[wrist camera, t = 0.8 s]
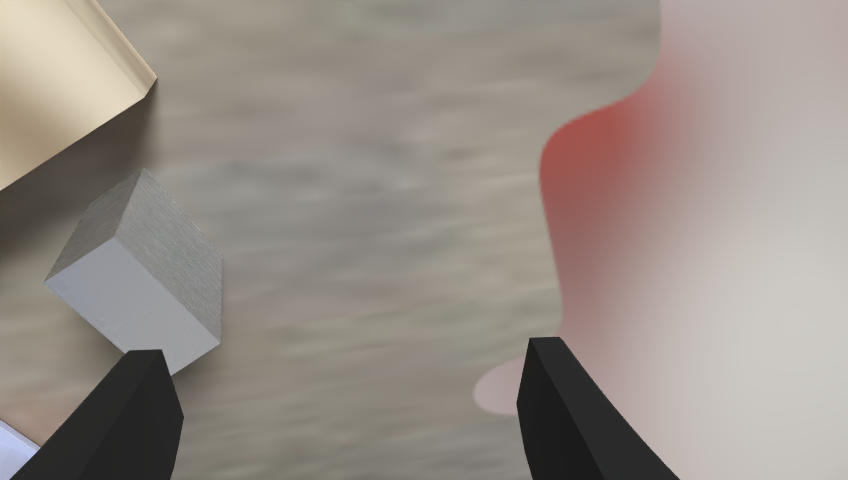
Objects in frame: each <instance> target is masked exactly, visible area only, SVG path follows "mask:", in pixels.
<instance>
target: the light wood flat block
mask: <svg viewBox="0 0 848 480" xmlns="http://www.w3.org/2000/svg"><path fill="white" fill-rule="evenodd" d="M156 79H157V76H156V75H155V73H154V72H153V71H152V70H151V68H150V67H149V66H148V65H147V63H146V62H145V61H144V60H143V58H142V57H141V56H140V55H139V54H138V52H137V51H136V50H135V49H134V47H133V46H132V45H131V44H130V42H129V41H128V40H127V39H126V37H125V36H124V35H123V34H122V32H121V31H120V30H119V29H118V27H117V26H116V25H115V24H114V22H113V21H112V20H111V19H110V17H109V16H108V15H107V14H106V13H105V11H104V10H103V9H102V8H101V6H100V5H99V4H98V3H97V1H96V0H0V190H2V189H4V188H5V187H7V186H8V185H10V184H11V183H13V182H14V181H16V180H17V179H19V178H21V177H22V176H24V175H25V174H27V173H28V172H30V171H31V170H33V169H34V168H36V167H38V166H39V165H41V164H42V163H44V162H45V161H47V160H48V159H50V158H51V157H53V156H54V155H56V154H58V153H59V152H61V151H62V150H64V149H65V148H67V147H68V146H70V145H71V144H73V143H75V142H76V141H78V140H79V139H81V138H82V137H84V136H85V135H87V134H88V133H90V132H92V131H93V130H95V129H96V128H98V127H99V126H101V125H102V124H104V123H105V122H107V121H109V120H110V119H112V118H113V117H115V116H116V115H118V114H119V113H121V112H122V111H124V110H126V109H127V108H129V107H130V106H132V105H133V104H135V103H136V102H138V101H139V100H141V99H142V98H144V97H145V95H146V94H147V92H148V91H149V89H150V88H151V86H152V85H153V83H154V82H155V80H156Z"/></svg>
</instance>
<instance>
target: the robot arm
mask: <svg viewBox="0 0 848 480" xmlns="http://www.w3.org/2000/svg"><path fill="white" fill-rule="evenodd" d="M517 410H518V416H519V422H520V428H521V433H522V439H523V444H524V450H525V454H526V457H527V461H528V464H529V468H530V471H531V475H532V478H533V480H680V479H679V478H678V477H677V476H676V475H675V474H674V473H673V472H672V471H671V470H670V469H669V468H668V467H667V466H666V465H665V464H664V462H662V460H661V459H660V458H659V457H658V456H657V455H656V454H655V453H654V452H653V451H652V450H651V449H650V447H649V446H648V445H647V444H646V443H645V442H644V441H643V440H642V439H641V438H640V436H639V435H638V434H637V433H636V432H635V431H634V430H633V428H632V427H631V426H630V425H629V424H628V422H627V421H626V420H625V419H624V418H623V416H622V415H621V414H620V413H619V412H618V411H617V409H615V407H614V406H613V405H612V403H611V402H610V401H609V400H608V399H607V397H606V396H605V395H604V394H603V392H602V391H601V390H600V389H599V387H598V386H597V385H596V383H595V382H594V381H593V380H592V378H591V377H590V376H589V375H588V373H587V372H586V371H585V370H584V368H583V367H582V366H581V364H580V363H579V361H578V360H577V359H576V358H575V356H574V355H573V354H572V352H571V351H570V349H569V348H568V347H567V345H566V344H565V343H564V341H563V340H562V339H561V338H560V337H538V338H530V339H529V344H528V349H527V354H526V359H525V364H524V368H523V373H522V378H521V383H520V388H519V393H518V398H517ZM183 419H184V416H183V413H182V409H181V406H180V403H179V400H178V397H177V394H176V391H175V388H174V385H173V382H172V379H171V376H170V373H169V369H168V366H167V363H166V360H165V357H164V354H163V351H162V349H151V350H129V351H128V352H127V353H126V354H125V355H124V356H123V357H122V358H121V359H120V360H119V361H118V362H117V364H116V365H115V366H114V367H113V368H112V369H111V370H110V371H109V373H108V374H107V375H106V376H105V377H104V378H103V379H102V381H101V382H100V383H99V384H98V385H97V386H96V387H95V389H94V390H93V391H92V392H91V393H90V394H89V395H88V397H87V398H86V399H85V400H84V401H83V402H82V403H81V404H80V405H79V407H78V408H77V409H76V410H75V411H74V412H73V413H72V414H71V415H70V417H69V418H68V419H67V420H66V421H65V422H64V423H63V424H62V425H61V426H60V427H59V428H58V430H57V431H56V432H55V433H54V434H53V435H52V436H51V437H50V438H49V439H48V440H47V441H46V442H45V444H44V445H43V446H42V447H39V446H38V445H36V444H35V443H33V442H32V441H30V440H29V439H27V438H26V437H24V436H23V435H22V434H20V433H19V432H17V431H16V430H14V429H13V428H11V427H10V426H8V425H7V424H6V423H4V422H3V421H1V420H0V480H170V478H171V475H172V472H173V469H174V464H175V460H176V455H177V450H178V446H179V440H180V435H181V430H182V424H183Z"/></svg>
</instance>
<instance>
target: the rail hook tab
mask: <svg viewBox="0 0 848 480" xmlns="http://www.w3.org/2000/svg"><path fill="white" fill-rule="evenodd" d="M222 269H223V255H222V254H221V253H220V252H219V251H218V250H217V248H216V247H215V246H214V245H213V244H212V243H211V242H210V241H209V240H208V238H207V237H206V236H205V235H204V234H203V233H202V232H201V231H200V230H199V228H198V227H197V226H196V225H195V224H194V223H193V222H192V221H191V220H190V218H189V217H188V216H187V215H186V214H185V213H184V212H183V211H182V210H181V208H180V207H179V206H178V205H177V204H176V203H175V202H174V201H173V200H172V198H171V197H170V196H169V195H168V194H167V193H166V192H165V191H164V190H163V188H162V187H161V186H160V185H159V184H158V183H157V182H156V181H155V180H154V178H153V177H152V176H151V175H150V174H149V173H148V172H147V171H146V170H145V168H144V167H143V168H142V169H140V170H139V171H137V172H136V173H134V174H133V175H131V176H130V177H128V178H127V179H125V180H123V181H122V182H120V183H119V184H117V185H116V186H114V187H113V188H111V189H110V190H108V191H107V192H105V193H104V194H102V195H100V196H99V197H97V198H96V199H94V200H93V201H91V203H90V205H89V206H88V208H87V210H86V211H85V213H84V215H83V217H82V218H81V220H80V222H79V223H78V225H77V227H76V228H75V230H74V232H73V233H72V235H71V237H70V238H69V240H68V242H67V244H66V245H65V247H64V249H63V250H62V252H61V254H60V255H59V257H58V259H57V260H56V262H55V264H54V266H53V267H52V269H51V271H50V272H49V274H48V276H47V277H46V279H45V281H44V282H43V283H44V284H45V285H46V286H47V287H48V288H50V289H51V290H52V291H53V292H54V293H55V294H57V295H58V296H59V297H60V298H61V299H62V300H63V301H65V302H66V303H67V304H68V305H69V306H70V307H72V308H73V309H74V310H75V311H76V312H77V313H78V314H80V315H81V316H82V317H83V318H84V319H85V320H87V321H88V322H89V323H90V324H91V325H92V326H94V327H95V328H96V329H97V330H98V331H99V332H100V333H102V334H103V335H104V336H105V337H106V338H107V339H109V340H110V341H111V342H112V343H113V344H114V345H115V346H117V347H118V348H119V349H120V350H121V351H122V352H124V353H125V354H126V353H127V352H128V351H129V350H151V349H162V351H163V354H164V357H165V360H166V363H167V366H168V369H169V373H170V376H172V375H173V374H175V373H176V372H178V371H179V370H181V369H182V368H184V367H185V366H187V365H188V364H190V363H191V362H193V361H194V360H196V359H197V358H199V357H200V356H202V355H203V354H205V353H206V352H208V351H210V350H211V349H213V348H214V347H216V346H217V345H219V344H220V343H221V310H222Z"/></svg>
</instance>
